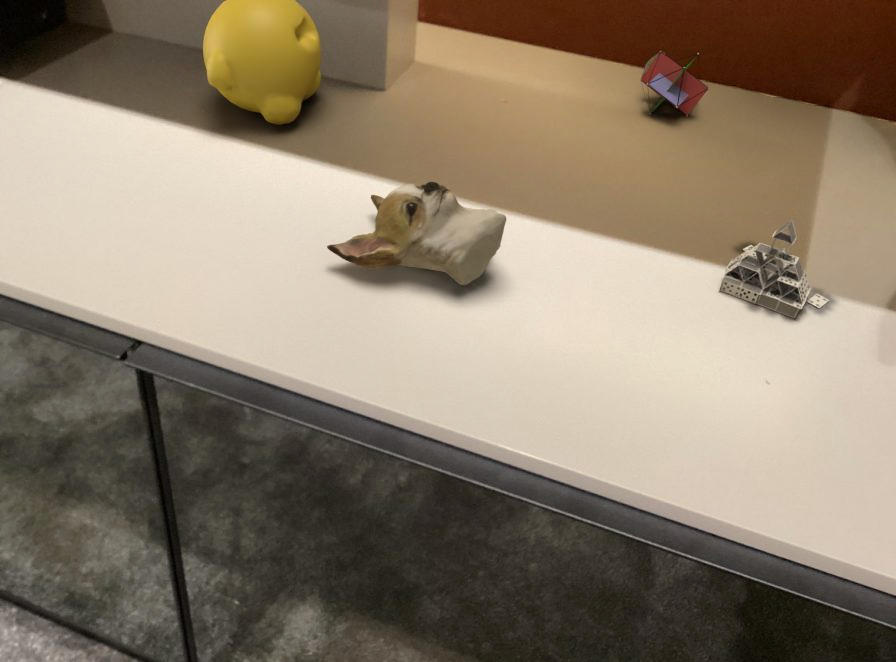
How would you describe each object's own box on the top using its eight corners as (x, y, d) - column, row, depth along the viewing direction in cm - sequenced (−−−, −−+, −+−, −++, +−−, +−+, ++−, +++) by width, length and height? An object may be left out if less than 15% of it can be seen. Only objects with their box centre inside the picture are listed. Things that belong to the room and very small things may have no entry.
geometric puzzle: (727, 94, 109) (701, 28, 106) (705, 119, 104) (677, 50, 102) (670, 114, 114) (644, 51, 111) (647, 138, 110) (619, 73, 107)
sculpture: (313, 134, 100) (260, 10, 92) (215, 154, 106) (156, 39, 98) (359, 69, 110) (314, -48, 103) (267, 90, 116) (218, -19, 108)
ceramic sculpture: (485, 233, 77) (318, 194, 82) (480, 318, 83) (325, 277, 88) (527, 169, 84) (372, 137, 89) (520, 252, 90) (375, 218, 95)
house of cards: (841, 277, 89) (873, 207, 83) (814, 328, 83) (847, 257, 78) (745, 243, 92) (770, 174, 87) (714, 290, 87) (739, 219, 81)
